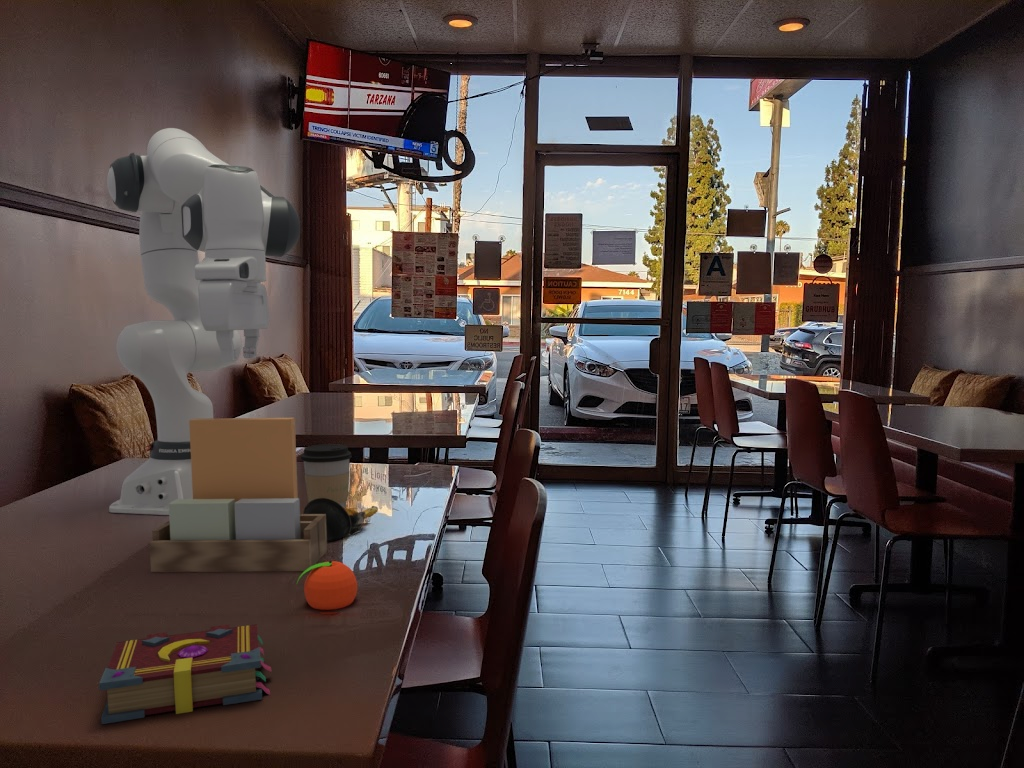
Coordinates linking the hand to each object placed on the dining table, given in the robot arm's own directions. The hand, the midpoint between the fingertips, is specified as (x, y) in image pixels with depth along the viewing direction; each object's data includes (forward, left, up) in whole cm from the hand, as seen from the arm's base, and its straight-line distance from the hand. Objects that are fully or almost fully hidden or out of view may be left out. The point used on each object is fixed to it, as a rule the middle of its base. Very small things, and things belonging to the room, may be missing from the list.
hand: (239, 359), depth 126 cm
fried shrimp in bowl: (+12, +15, -33) cm, 38 cm away
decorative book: (+9, -42, -33) cm, 55 cm away
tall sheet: (0, 0, -31) cm, 31 cm away
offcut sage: (-5, -5, -31) cm, 32 cm away
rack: (0, -2, -33) cm, 33 cm away
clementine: (+18, -21, -33) cm, 43 cm away
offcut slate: (+5, -5, -31) cm, 32 cm away
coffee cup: (+7, +24, -33) cm, 41 cm away
